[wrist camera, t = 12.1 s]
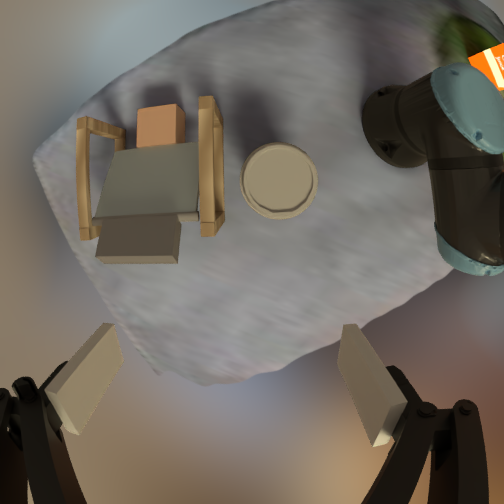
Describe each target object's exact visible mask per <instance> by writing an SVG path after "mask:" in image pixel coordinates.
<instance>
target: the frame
mask: <svg viewBox="0 0 504 504" xmlns="http://www.w3.org/2000/svg"><path fill="white" fill-rule="evenodd" d="M90 133H92V134H96V135H100V136H104V137H107V138H111V139H115V151H122V150H125V134H126V130H124V129H121V128H119V127H116V126H113V125H110V124H108V123H105V122H102V121H99V120H96V119H93V118H90V117H87V116H85V117H82V118H78V119H77V141H76V182H77V202H78V216H79V226H80V229H79V230H80V239H81V240H91V239H94V238H96V237H98V236H100V231H101V227H102V226H93V225H92V215H91V201H90V179H89V140H90ZM199 192H200V220H201V223H200V224H201V237H208V236H215V235H216V234H217V232H218V231H219V229H220V227H221V226H222V224H223V223H224V221H225V211H224V163H223V118H222V116H221V114H220V111H219V109H218V107H217V104H216V102H215V100H214V98H213V96H201V97H199Z"/></svg>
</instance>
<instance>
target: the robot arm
mask: <svg viewBox="0 0 504 504" xmlns="http://www.w3.org/2000/svg"><path fill="white" fill-rule="evenodd" d="M362 123H363V129H364V133H365V136H366V138H367V140H368V142H369V144H370V146H371V147H372V149H373V150H374V152H375V153H376V154H377V155H378V156H379V157H380V158H381V159H382V160H384V161H385V162H387V163H388V164H390V165H393V166H395V167H400V168H413V167H417V166H420V165H422V164H424V163H426V162H427V161H428V166H429V174H430V180H431V187H432V195H433V203H434V213H435V222H434V227H435V231H436V234H437V245H438V250H439V253H440V254H441V256H442V258H443V259H444V260H445V261H446V262H447V263H448V264H449V265H451V266H452V267H454V268H456V269H458V270H460V271H462V272H465V273H468V274H472V275H478V276H483V275H484V274H487V275H489V276H492V275H496V274H499V273H501V272H502V271H503V270H504V161H503V155H502V153H503V152H504V99H503V97H502V95H501V93H500V92H499V90H498V89H497V87H496V86H495V85H494V83H493V82H491V81H490V80H489V78H488V77H487V76H486V75H485V74H484V73H483V72H481V71H480V70H479V69H477V68H475V67H474V66H471V65H469V64H466V63H453V64H450V65H447V66H445V67H439V68H437V69H435V70H434V71H433V72H431V73H429V74H427V75H425V76H423V77H422V78H420V79H418V80H416V81H414V82H412V83H411V84H409V85H407V86H402V85H390V86H385V87H383V88H380V89H379V90H377V91H376V92H374V93H373V94H372V95H371V96H370V97H369V98H368V99H367V101H366V103H365V105H364V108H363V114H362ZM123 362H124V360H123V356H122V353H121V350H120V346H119V342H118V338H117V334H116V330H115V326H114V324H109V323H103V324H102V325H101V326H100V327H99V328H98V329H97V330H96V331H95V333H94V334H93V335H92V336H91V337H90V338H89V339H88V340H87V341H86V342H85V344H84V345H83V346H82V347H81V348H80V349H79V350H78V351H77V353H76V354H75V355H74V356H73V357H72V358H71V359H70V360H69V361H65V362H64V363H62V364H61V365H59V366H58V367H57V368H56V369H55V370H54V372H53V373H52V374H51V375H50V377H48V378H47V380H46V381H45V382H44V383H43V384H42V385H41V386H40V388H39V389H37V386H36V384H35V382H34V380H33V379H32V378H31V377H21V378H18V379H17V380H15V381H14V383H13V384H12V388H13V390H14V392H15V394H16V395H17V397H12V396H11V395H10V393H9V391H8V390H7V389H5V388H0V504H28V501H27V500H28V497H27V490H28V489H27V488H28V486H27V485H28V481H29V485H30V490H31V493H32V497H33V501H34V504H87V502H86V500H85V498H84V495H83V493H82V491H81V488H80V485H79V483H78V480H77V478H76V475H75V472H74V469H73V467H72V463H71V461H70V458H69V454H68V451H67V448H66V444H65V440H64V437H63V433H62V431H61V429H60V427H61V425H62V424H63V425H64V426H65V428H66V429H67V431H68V432H71V433H74V434H77V435H80V434H81V432H82V430H83V428H84V427H85V425H86V423H87V422H88V420H89V418H90V416H91V414H92V413H93V411H94V410H95V408H96V406H97V405H98V403H99V401H100V399H101V398H102V396H103V395H104V393H105V391H106V389H107V388H108V386H109V385H110V383H111V381H112V380H113V378H114V377H115V375H116V373H117V372H118V370H119V368H120V367H121V365H122V364H123ZM337 365H338V367H339V369H340V372H341V374H342V376H343V379H344V381H345V383H346V386H347V388H348V390H349V392H350V395H351V397H352V399H353V402H354V404H355V406H356V409H357V411H358V414H359V416H360V418H361V421H362V423H363V426H364V428H365V430H366V433H367V435H368V438H369V440H370V443H371V445H372V447H375V446H379V445H383V444H387V443H388V442H389V440H390V438H391V436H392V437H393V439H394V441H395V442H394V444H393V446H392V448H391V449H390V451H389V453H388V456H387V459H386V460H385V462H384V464H383V466H382V468H381V470H380V472H379V474H378V476H377V478H376V479H375V481H374V483H373V485H372V486H371V488H370V490H369V492H368V493H367V495H366V496H365V498H364V500H363V502H362V503H361V504H408V503H409V501H410V499H411V497H412V494H413V492H414V490H415V487H416V485H417V482H418V480H419V477H420V474H421V472H422V469H423V467H424V464H425V461H426V458H427V455H428V452H429V451H431V471H430V484H429V494H428V502H427V504H489V488H488V472H487V461H486V452H485V445H484V439H483V432H482V426H481V421H480V416H479V411H478V408H477V406H476V405H475V404H474V403H473V402H471V401H470V400H465V399H463V400H459V401H458V402H456V403H455V405H454V406H453V408H452V409H437V407H436V406H435V405H433V404H431V403H429V402H423V401H422V400H421V398H420V397H419V395H418V394H417V392H416V391H415V389H414V388H413V387H412V385H411V384H410V383H409V381H408V379H406V377H405V375H404V374H403V372H402V371H401V370H400V369H398V368H397V367H395V366H387V367H385V366H384V364H383V363H382V361H381V360H380V358H379V357H378V355H377V354H376V352H375V351H374V349H373V348H372V346H371V345H370V344H369V342H368V341H367V339H366V338H365V336H364V335H363V333H362V332H361V330H360V329H359V327H358V326H357V325H356V324H347V325H343V331H342V337H341V344H340V350H339V356H338V361H337ZM7 427H8V428H9V431H7Z"/></svg>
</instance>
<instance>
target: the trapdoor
mask: <svg viewBox="0 0 504 504" xmlns="http://www.w3.org/2000/svg"><path fill="white" fill-rule="evenodd" d="M198 199H199V142H192V143H179V144H169V145H159V146H151V147H143V148H135V149H128V150H122V151H115V154H114V157H113V159H112V162H111V165H110V168H109V171H108V174H107V177H106V180H105V183H104V186H103V190H102V193H101V196H100V200H99V203H98V207H97V211H96V214H95V217H93V218H92V225H93V226H102V227H101V231H100V236H99V240H98V245H97V250H96V255H95V257H96V258H98V259H99V260H100V261H101V262H103V263H104V264H176V263H178V255H179V244H180V234H181V223H180V222H186V221H199V211H197V209H198Z"/></svg>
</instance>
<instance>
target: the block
mask: <svg viewBox="0 0 504 504" xmlns="http://www.w3.org/2000/svg"><path fill="white" fill-rule="evenodd" d="M179 143H185V113H184V112H183V110H182V109H181V108H180V107H179V106H178V105H177V104H169V105H162V106H155V107H148V108H142V109H138V117H137V148H143V147H151V146H159V145H169V144H179Z"/></svg>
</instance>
